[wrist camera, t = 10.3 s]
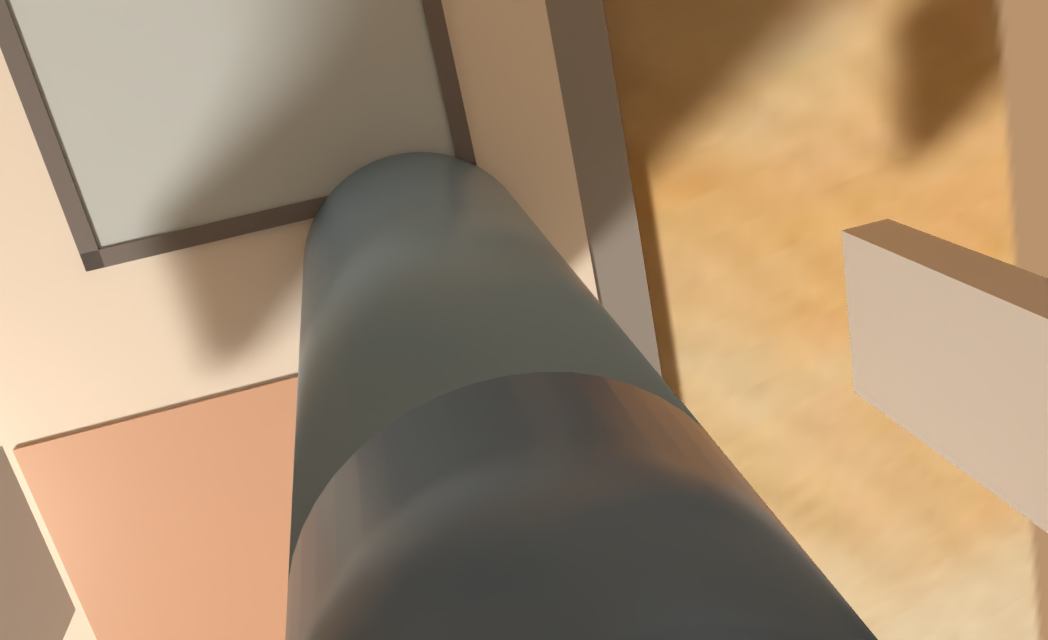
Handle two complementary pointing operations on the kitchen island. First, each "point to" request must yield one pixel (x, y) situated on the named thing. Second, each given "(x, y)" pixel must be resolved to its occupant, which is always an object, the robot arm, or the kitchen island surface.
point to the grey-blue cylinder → (507, 445)
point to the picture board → (244, 254)
